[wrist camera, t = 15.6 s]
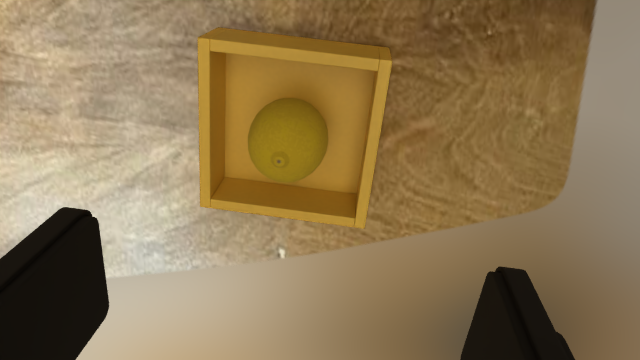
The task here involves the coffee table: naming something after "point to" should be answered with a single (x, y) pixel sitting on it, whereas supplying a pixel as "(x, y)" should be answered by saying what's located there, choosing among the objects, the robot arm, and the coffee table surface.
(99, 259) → the robot arm
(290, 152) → the lemon
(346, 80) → the yellow bin
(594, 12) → the coffee table surface
